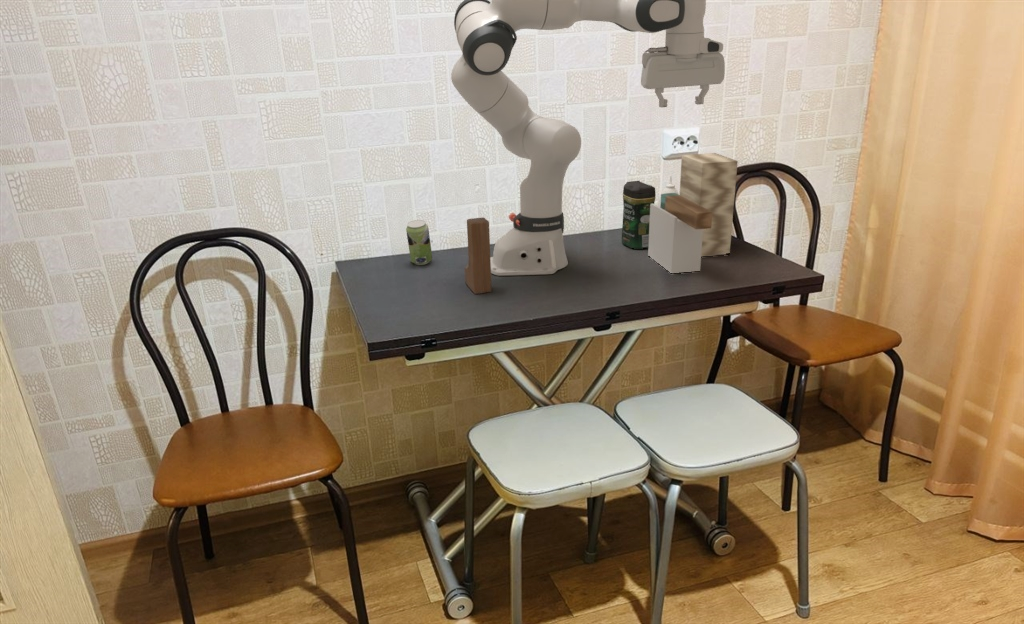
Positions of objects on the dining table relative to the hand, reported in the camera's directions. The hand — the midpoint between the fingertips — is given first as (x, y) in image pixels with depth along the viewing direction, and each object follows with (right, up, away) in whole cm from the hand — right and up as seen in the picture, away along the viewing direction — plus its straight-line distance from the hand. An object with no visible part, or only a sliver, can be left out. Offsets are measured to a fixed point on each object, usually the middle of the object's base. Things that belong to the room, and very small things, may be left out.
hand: (681, 105), depth 182 cm
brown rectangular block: (+3, -26, +9) cm, 28 cm away
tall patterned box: (+13, -33, +30) cm, 46 cm away
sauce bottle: (+6, -27, +46) cm, 54 cm away
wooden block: (-50, -44, +6) cm, 67 cm away
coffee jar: (-5, -31, +36) cm, 48 cm away
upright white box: (+2, -37, +19) cm, 42 cm away
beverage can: (-67, -37, +25) cm, 80 cm away
